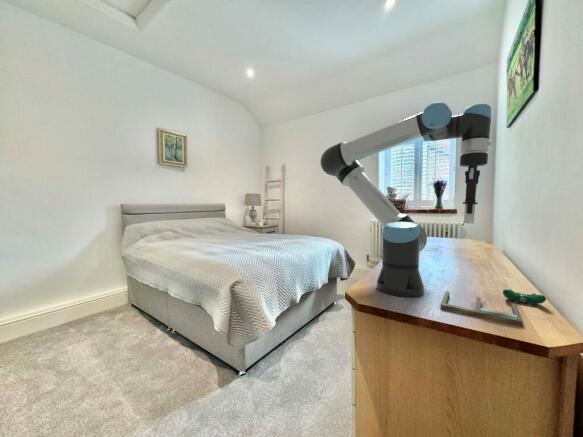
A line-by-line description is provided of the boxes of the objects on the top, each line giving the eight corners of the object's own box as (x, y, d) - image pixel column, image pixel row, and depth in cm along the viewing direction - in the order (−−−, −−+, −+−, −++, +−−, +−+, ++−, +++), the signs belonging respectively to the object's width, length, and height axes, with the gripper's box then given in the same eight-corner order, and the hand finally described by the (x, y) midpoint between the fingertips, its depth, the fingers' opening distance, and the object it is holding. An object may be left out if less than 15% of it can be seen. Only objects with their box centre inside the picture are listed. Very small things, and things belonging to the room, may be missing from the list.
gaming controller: (546, 310, 68) (542, 304, 73) (546, 297, 68) (543, 291, 73) (502, 302, 74) (502, 296, 79) (503, 289, 74) (502, 285, 79)
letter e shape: (440, 309, 69) (440, 301, 69) (445, 295, 80) (445, 288, 80) (522, 327, 59) (522, 318, 59) (515, 309, 70) (516, 301, 69)
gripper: (488, 148, 75) (482, 225, 77) (488, 155, 85) (482, 223, 87) (458, 151, 80) (453, 223, 81) (462, 157, 90) (457, 221, 91)
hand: (468, 223), depth 84 cm, fingers closed
